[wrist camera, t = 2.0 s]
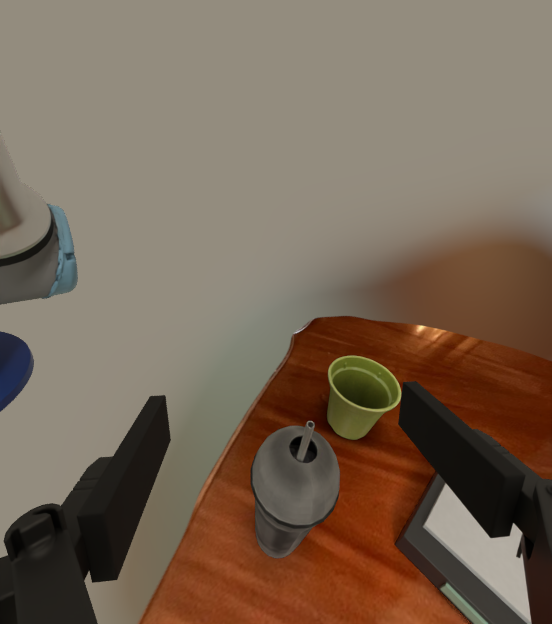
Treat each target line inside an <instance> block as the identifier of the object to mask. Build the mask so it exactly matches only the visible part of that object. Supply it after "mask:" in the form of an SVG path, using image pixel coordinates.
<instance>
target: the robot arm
mask: <svg viewBox="0 0 552 624" xmlns="http://www.w3.org/2000/svg"><path fill="white" fill-rule="evenodd" d="M77 279H78V277H77V264H76V259H75V256H74V246H73V241H72V236H71V232H70V228H69V225H68V221H67V218H66V216H65V213H64V211H63V210H62V209H61V208H60V207H58V206H53V205H50V204H46V202H45V201H44V199H43V198H42V197H41V196H40V195H39V194H38V193H37V192H36V191H35V190H33V189H32V188H31V187H29V186H27V185H26V184H24V183H22V182H21V181H20V178H19V176H18V173H17V171H16V168H15V166H14V164H13V161H12V159H11V156H10V154H9V152H8V149H7V147H6V144H5V142H4V139H3V137H2V135H1V132H0V304H6V303H12V302H18V301H25V300H32V299H37V298H42V299H44V298H49V297H51V296H53V295H58V294H63V293H67V292H70V291H72V290H73V289H74V288H75V287H76V285H77ZM166 406H167V405H166V397H165V395H163V396H150V397H149V399H148V401H147V402H146V404H145V406H144V407H143V409H142V410H141V412H140V414H139V415H138V417H137V419H136V420H135V422H134V423H133V425H132V427H131V428H130V430H129V431H128V433H127V435H126V436H125V438H124V440H123V441H122V443H121V444H120V446H119V448H118V450H117V451H116V453H115V454H114V456H113V457H101V458H99V459H97V460H96V461H95V462H94V463H93V464H91V465H90V466H89V467H88V468H87V469H86V471H85V472H84V474H83V475H82V477H81V478H80V481H78V482H77V484H76V485H75V487H74V488H73V491H71V492H70V494H69V495H68V497H67V498H66V500H65V501H64V502H63V504H62V505H61V506H60V505H57V504H53V503H52V504H45V505H41V506H39V507H36V508H34V509H32V510H30V511H28V512H27V513H25V514H24V515H22V516H21V517H20V518H18V519H17V520H16V521H15V522H14V523H13V524H12V525H11V526H10V528H9V529H8V531H7V532H6V534H5V538H4V543H5V546H6V549H7V553H8V556H5V557H2V558H0V624H98V623H97V620H96V617H95V614H94V610H93V607H92V604H91V601H90V598H89V595H88V591H87V588H86V585H85V582H84V580H85V578H86V576H87V574H88V571H90V575H91V579H92V582H102V581H111V580H117V579H118V576H119V573H120V571H121V568H122V566H123V563H124V560H125V558H126V555H127V553H128V550H129V547H130V545H131V542H132V539H133V537H134V534H135V531H136V529H137V526H138V524H139V521H140V518H141V516H142V513H143V511H144V508H145V506H146V503H147V500H148V498H149V495H150V493H151V490H152V487H153V485H154V482H155V479H156V477H157V474H158V472H159V469H160V466H161V464H162V461H163V459H164V456H165V453H166V451H167V448H168V445H169V443H170V440H171V439H170V431H169V422H168V414H167V407H166ZM398 424H399V426H400V427H401V428H402V429H403V431H404V432H405V433H406V434H407V436H408V437H409V438H410V439H411V441H412V442H413V443H414V444H415V445H416V447H417V448H418V449H419V450H420V452H421V453H422V454H423V455H424V457H425V458H426V459H427V460H428V462H429V463H430V464H431V465H432V467H433V468H434V469H435V470H436V471H437V473H438V474H439V475H440V476H441V478H442V479H443V480H444V481H445V483H446V484H447V485H448V486H449V488H450V489H451V490H452V491H453V493H454V494H455V495H456V496H457V497H458V499H459V500H460V501H461V502H462V504H463V505H464V506H465V507H466V509H467V510H468V511H469V512H470V514H471V515H472V516H473V517H474V519H475V520H476V521H477V522H478V523H479V525H480V526H481V527H482V528H483V530H484V531H485V532H486V533H487V535H488V536H489V537H490V538H498V537H507V536H510V533H511V529H512V526H513V523H514V524H515V525H516V526H517V527H518V528H519V530H520V531H521V532H522V536H521V539H520V543H519V546H518V550H517V554H516V557H518V558H520V557H521V554H522V556H523V564H524V571H525V579H526V586H527V594H528V601H529V609H530V616H531V624H552V480H549V479H542V478H541V477H539V476H538V475H537V474H536V473H534V472H533V471H532V470H531V469H530V468H528V467H527V466H526V465H525V464H523V463H522V462H521V461H520V460H519V459H517V458H516V457H515V456H514V455H512V454H510V453H509V451H508V450H506V449H505V448H504V447H501V445H500V444H499V443H498V442H497V441H495V440H494V439H493V438H492V437H490V436H489V435H487V434H485V433H483V432H481V431H480V430H478V429H471V428H470V427H469V426H468V425H467V424H465V423H464V422H463V421H462V420H461V419H460V418H458V417H457V416H456V415H455V414H454V413H453V412H451V411H450V410H449V409H448V408H447V407H445V406H444V405H443V404H442V403H441V402H440V401H438V400H437V399H436V398H435V397H434V396H433V395H431V394H430V393H429V392H428V391H427V390H426V389H424V388H423V387H422V386H421V385H420V384H419V383H417V382H416V381H414V382H403V389H402V397H401V406H400V414H399V423H398Z"/></svg>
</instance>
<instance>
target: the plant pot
mask: <svg viewBox="0 0 552 624" xmlns="http://www.w3.org/2000/svg"><path fill="white" fill-rule="evenodd" d="M328 379H329V383H330V396H329V404H328V411H327V420H328V423H329V424H330V425H331V427H332V428H333V430H334V431H335V432H336V433H337V434H338V435H340V436H342V437H344V438H347V439H352V440H356V439H359V438H361V437H363V436H365V435H366V434H367V433H368V431H369V430H370V429H371V428H372V426H373V425H374V424H375V423H376V421H377V420H378V419H379V418H380V417H381V416H382V414H384V413H385V412H387V411H389V410H391V409H393V408H394V407H396V405H397V404H398V403H399V401H400V398H401V389H400V386H399V383H398V382H397V380H396V378H395V377H394V376H393V375H392V373H391V372H390V371H388V370H387V369H386V368H385V367H383V366H382V365H380V364H378V363H377V362H375V361H373V360H370V359H368V358H364V357H360V356H345V357H341V358H338V359H336V360H335V361H334V362H332V364H331V365H330V367H329V370H328Z"/></svg>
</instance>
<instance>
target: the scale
mask: <svg viewBox="0 0 552 624" xmlns="http://www.w3.org/2000/svg"><path fill="white" fill-rule="evenodd" d="M521 536H522V532H521V531H520V530H519V528H518V527H517V526H516V525H515V524H514V523H513V526H512V529H511V533H510V536H507V537H498V538H490V537H489V536H488V535H487V533H486V532H485V531H484V530H483V528H482V527H481V526H480V525H479V523H478V522H477V521H476V520H475V519H474V517H473V516H472V515H471V514H470V512H469V511H468V510H467V509H466V507H465V506H464V505H463V504H462V502H461V501H460V500H459V499H458V497H457V496H456V495H455V494H454V493H453V491H452V490H451V489H450V488H449V486H448V485H447V484H446V483H445V481H444V480H443V479H442V478H441V476H440V475H439V474H438V473H437V471H436V472H435V474H434V476H433V478H432V479H431V481H430V483H429V485H428V486H427V488H426V490H425V492H424V493H423V495H422V497H421V499H420V501H419V502H418V504H417V506H416V508H415V509H414V511H413V513H412V515H411V516H410V518H409V520H408V522H407V523H406V525H405V527H404V529H403V531H402V532H401V534H400V536H399V538H398V539H397V541H396V543H395V545H396V546H397V547H398V548H399V549H400V550H401V551H402V553H403V554H404V555H405V556H406V557H407V558H408V559H409V560H410V561H411V562H412V563H413V564H414V565H415V566H416V567H417V568H418V569H419V570H420V571H421V572H422V573H423V574H424V575H425V576H426V577H427V578H428V579H429V580H430V581H431V582H432V583H433V584H434V585H435V586H436V587H437V588H438V589H439V590H440V591H441V592H442V593H443V594H444V595H445V596H446V597H447V598H448V600H449V601H450V602H451V603H452V604H453V605H454V606H455V607H456V608H457V609H458V610H459V611H460V612H461V613H462V614H463V615H464V616H465V617H466V618H467V619H468V620H469V621H470V622H471V623H472V624H531V616H530V609H529V601H528V594H527V586H526V579H525V571H524V564H523V556H522V554H521V557H520V558H518V557H516V554H517V550H518V546H519V543H520V539H521Z"/></svg>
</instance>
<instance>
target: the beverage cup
mask: <svg viewBox="0 0 552 624" xmlns="http://www.w3.org/2000/svg"><path fill="white" fill-rule="evenodd" d="M314 427H315V426H314V423H313V422H312V421H308V422H307V424H306V427H303V426H288V427H285V428H282V429H279V430H277V431H276V432H274V433H273V434H271V435H270V436H269V437H268V438H267V439H266V440H265V441H264V443H263V444H262V446H261V447H260V448H259V450H258V452H257V454H256V455H255V457H254V460H253V463H252V467H251V487H252V490H253V493H254V497H255V531H256V538H257V541H258V544H259V546H260V547H261V549H262V551H263V552H265V553H266V554H267V555H268V556H271V557H273V558H284V557H286V556H288V555H289V554H290V553H291V552H293V551H294V550H295V548H296V547H297V546H298V545H299V544H300V543H301V541H302V540H303V539H304V538H305V536H306V535H307V534H308V533H309V531H310V530H311V529H312V527H314V526H316V525H317V524H319V523H321V522H323V521H324V520H325V519H326V518H327V517H328V516H329V515H330V514H331V512H332V511H333V510H334V507H335V505H336V502H337V499H338V496H339V480H340V470H339V466H338V462H337V458H336V455H335V453H334V452H333V450H332V448H331V446H330V445H329V443H328V442H327V441H326V440H325V439H324V438H323V437H322V436H321V435H320V434H319V433H317V432H315V431H314Z"/></svg>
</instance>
